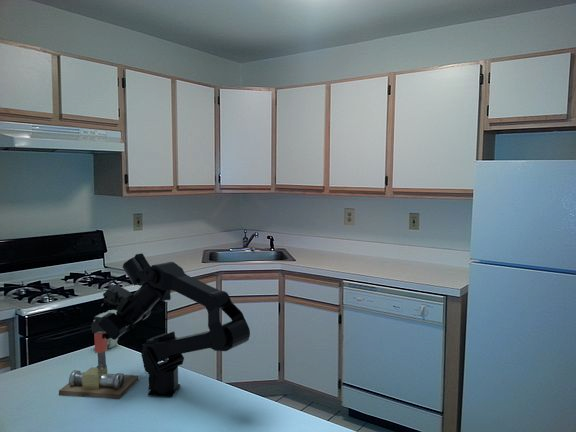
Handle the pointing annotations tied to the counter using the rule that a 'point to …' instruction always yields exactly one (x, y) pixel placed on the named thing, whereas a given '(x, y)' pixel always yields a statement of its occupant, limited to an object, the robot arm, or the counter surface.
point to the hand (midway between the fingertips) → (106, 337)
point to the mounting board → (103, 391)
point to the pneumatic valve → (97, 328)
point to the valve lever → (100, 348)
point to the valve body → (96, 379)
